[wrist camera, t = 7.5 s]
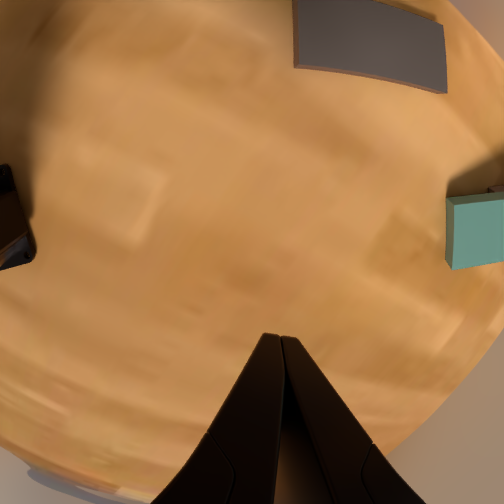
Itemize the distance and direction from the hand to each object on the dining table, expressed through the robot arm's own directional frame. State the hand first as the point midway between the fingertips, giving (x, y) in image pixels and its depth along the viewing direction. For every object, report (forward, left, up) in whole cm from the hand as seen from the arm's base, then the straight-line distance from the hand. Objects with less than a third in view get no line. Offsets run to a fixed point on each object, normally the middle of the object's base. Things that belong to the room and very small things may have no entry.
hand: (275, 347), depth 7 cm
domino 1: (+10, +10, -12) cm, 18 cm away
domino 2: (+15, -3, -10) cm, 18 cm away
